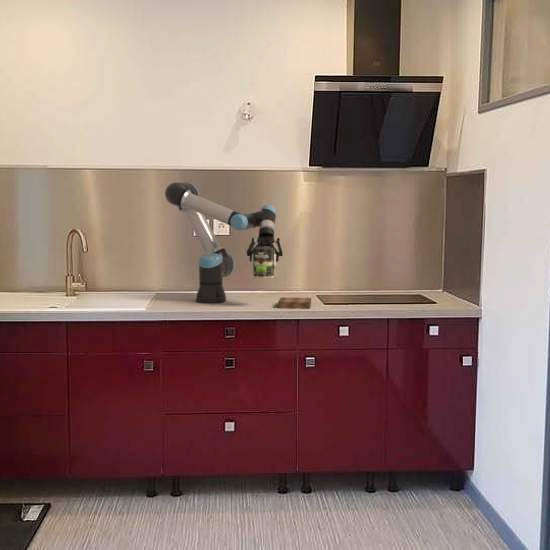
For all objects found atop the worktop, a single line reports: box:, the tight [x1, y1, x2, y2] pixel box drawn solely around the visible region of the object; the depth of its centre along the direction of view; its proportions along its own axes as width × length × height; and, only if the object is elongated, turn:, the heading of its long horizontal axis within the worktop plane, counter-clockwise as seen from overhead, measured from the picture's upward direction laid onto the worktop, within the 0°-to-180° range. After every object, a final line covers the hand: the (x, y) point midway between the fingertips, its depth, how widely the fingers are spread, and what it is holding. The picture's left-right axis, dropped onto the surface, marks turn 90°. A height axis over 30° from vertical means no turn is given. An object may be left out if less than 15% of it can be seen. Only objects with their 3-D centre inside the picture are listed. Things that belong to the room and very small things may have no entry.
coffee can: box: [252, 246, 276, 279], centre depth 345 cm, size 10×10×14 cm
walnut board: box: [277, 296, 312, 310], centre depth 346 cm, size 15×15×3 cm
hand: (263, 266), depth 342 cm, fingers closed on coffee can, 10 cm apart
